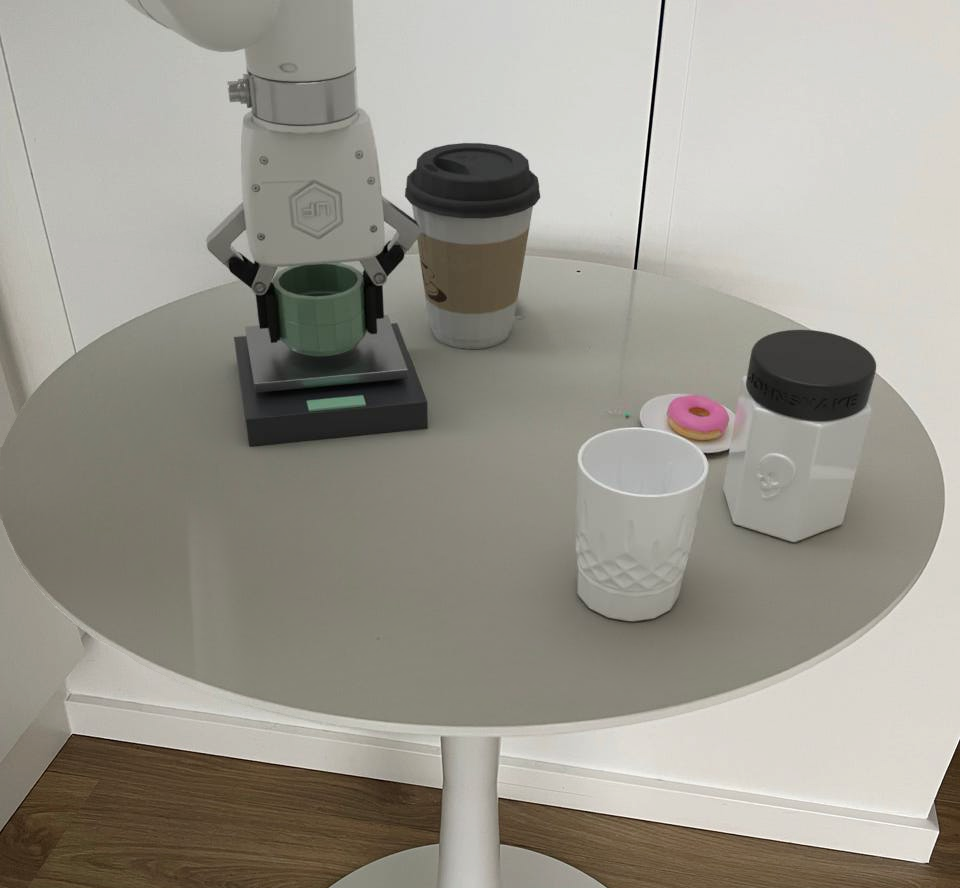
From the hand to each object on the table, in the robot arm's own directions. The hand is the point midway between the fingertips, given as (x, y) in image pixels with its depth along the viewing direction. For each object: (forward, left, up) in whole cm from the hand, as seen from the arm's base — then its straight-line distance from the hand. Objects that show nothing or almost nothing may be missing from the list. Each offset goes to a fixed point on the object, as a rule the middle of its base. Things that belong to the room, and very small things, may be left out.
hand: (322, 329), depth 94 cm
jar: (+30, -24, -6) cm, 39 cm away
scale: (0, -1, -5) cm, 5 cm away
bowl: (0, 0, -1) cm, 1 cm away
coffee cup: (+14, +8, -6) cm, 17 cm away
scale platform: (0, 0, -2) cm, 2 cm away
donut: (+26, -12, -6) cm, 29 cm away
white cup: (+16, -31, -6) cm, 35 cm away
